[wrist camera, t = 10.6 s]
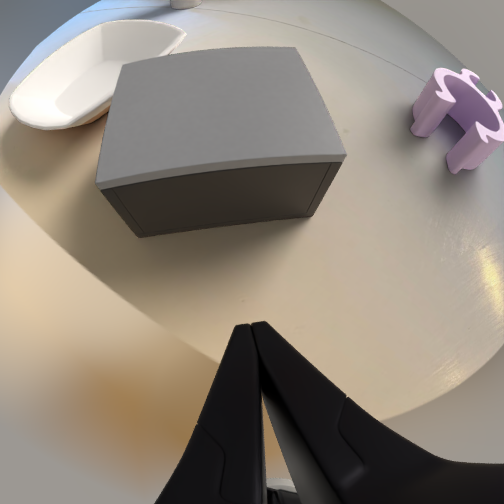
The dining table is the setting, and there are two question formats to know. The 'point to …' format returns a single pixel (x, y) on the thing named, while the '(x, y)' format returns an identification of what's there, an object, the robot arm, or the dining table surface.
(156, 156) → the box lid
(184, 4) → the coffee cup
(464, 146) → the clip
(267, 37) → the dining table surface
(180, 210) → the grey hinged lid box
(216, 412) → the robot arm
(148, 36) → the bowl
